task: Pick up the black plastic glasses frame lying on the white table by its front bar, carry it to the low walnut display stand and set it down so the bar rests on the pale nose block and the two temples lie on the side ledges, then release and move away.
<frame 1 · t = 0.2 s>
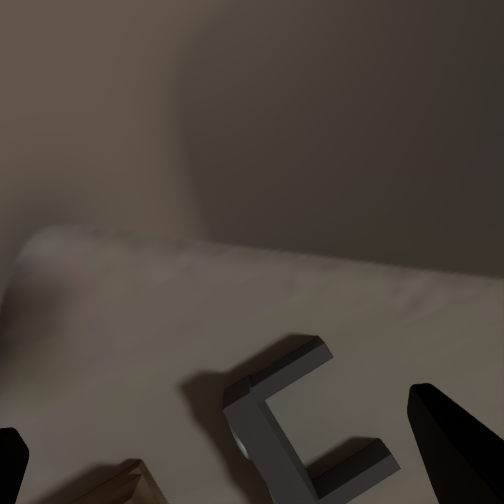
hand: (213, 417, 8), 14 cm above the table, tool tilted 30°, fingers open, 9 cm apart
glasses: (273, 443, 23), on the table
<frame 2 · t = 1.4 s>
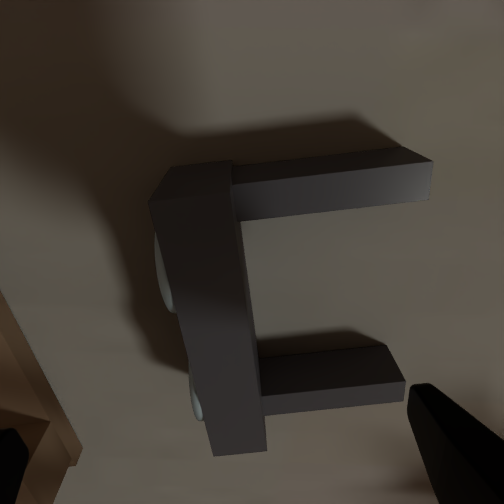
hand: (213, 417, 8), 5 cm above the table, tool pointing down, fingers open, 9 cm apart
glasses: (223, 291, 13), on the table
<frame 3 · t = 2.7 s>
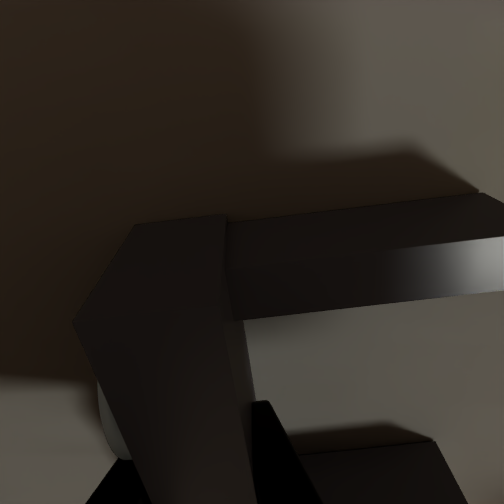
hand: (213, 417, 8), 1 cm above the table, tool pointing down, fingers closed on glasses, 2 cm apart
glasses: (217, 383, 9), on the table, touching gripper
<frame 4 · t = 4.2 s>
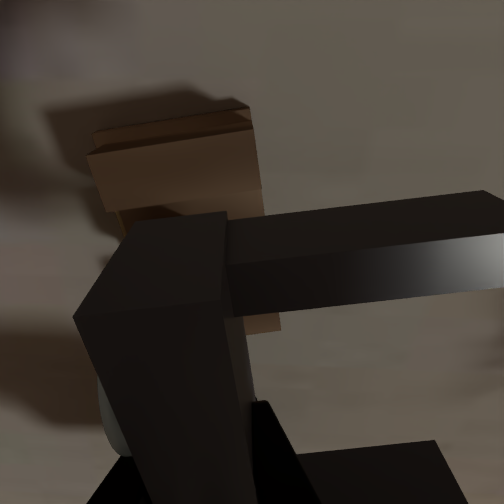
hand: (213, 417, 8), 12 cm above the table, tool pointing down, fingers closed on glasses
glasses: (216, 381, 9), point 11 cm above the table, touching gripper
display stand: (198, 228, 19), on the table
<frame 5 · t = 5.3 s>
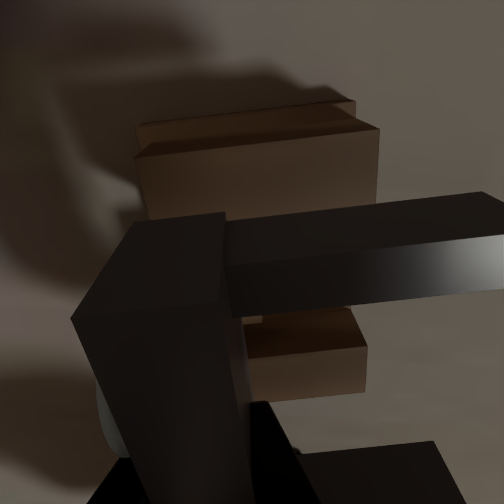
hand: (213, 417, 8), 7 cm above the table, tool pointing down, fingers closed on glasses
glasses: (215, 381, 9), point 6 cm above the table, touching gripper
display stand: (260, 255, 15), on the table
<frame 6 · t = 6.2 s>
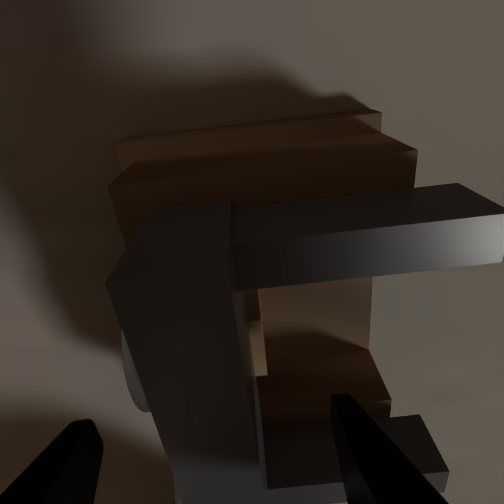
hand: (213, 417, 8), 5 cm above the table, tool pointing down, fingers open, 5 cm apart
glasses: (220, 357, 10), point 3 cm above the table, touching display stand
display stand: (264, 288, 13), on the table
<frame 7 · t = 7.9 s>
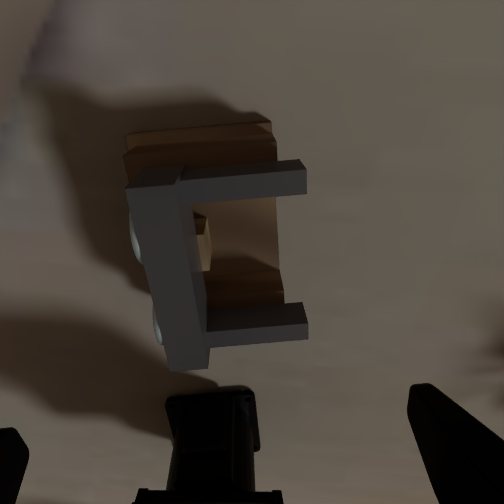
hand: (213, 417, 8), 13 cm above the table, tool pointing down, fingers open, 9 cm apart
glasses: (181, 257, 18), point 3 cm above the table, touching display stand
display stand: (214, 228, 20), on the table
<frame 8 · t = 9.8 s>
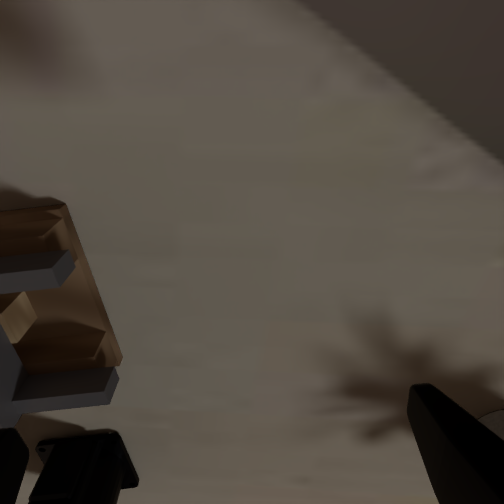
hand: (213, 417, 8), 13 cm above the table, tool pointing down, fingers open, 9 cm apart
display stand: (40, 295, 22), on the table
house plant: (490, 439, 30), on the table
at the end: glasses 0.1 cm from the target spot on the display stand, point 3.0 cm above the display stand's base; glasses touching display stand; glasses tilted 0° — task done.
